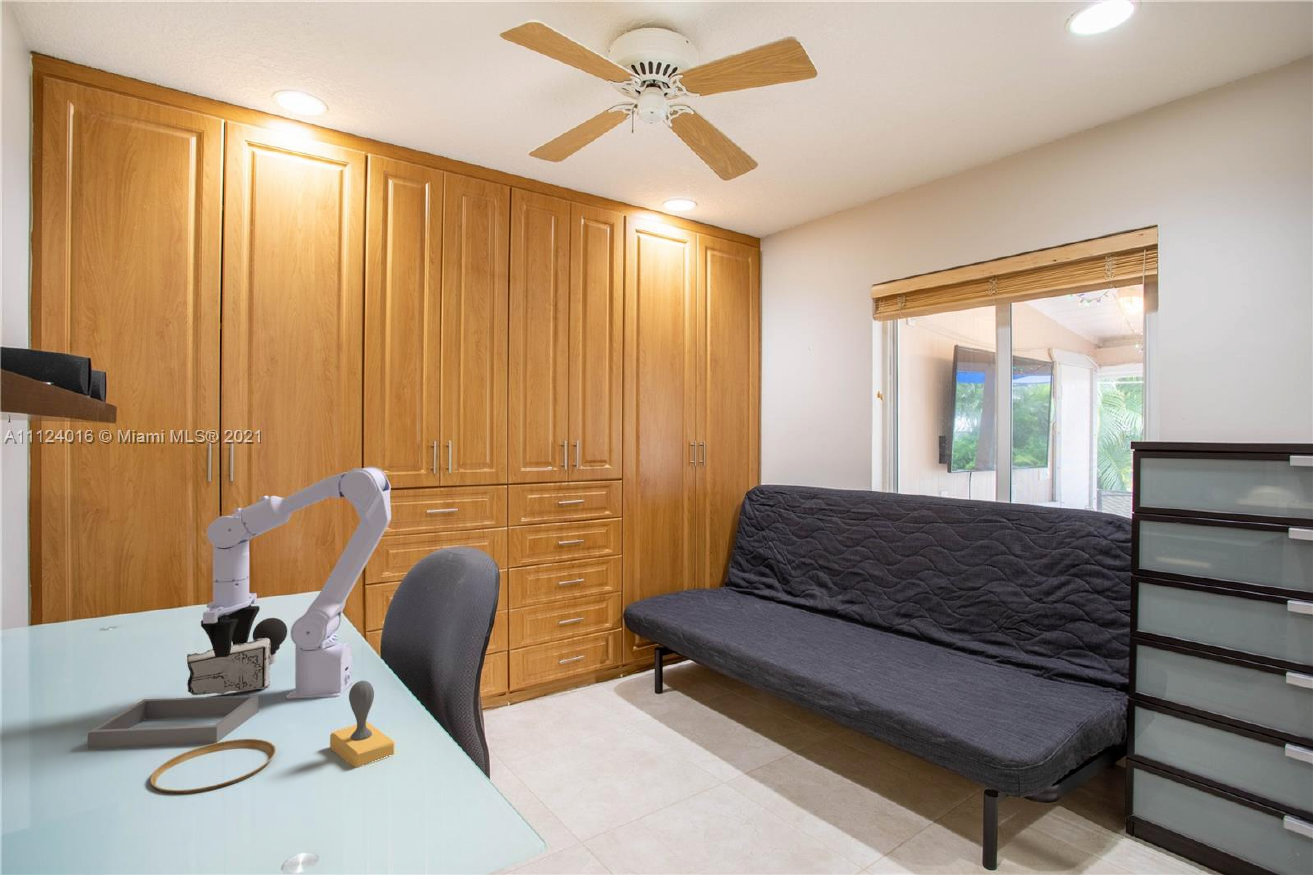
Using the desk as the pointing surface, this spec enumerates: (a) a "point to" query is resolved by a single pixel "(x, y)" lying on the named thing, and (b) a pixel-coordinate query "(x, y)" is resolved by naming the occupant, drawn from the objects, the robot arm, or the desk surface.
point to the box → (122, 735)
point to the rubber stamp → (361, 731)
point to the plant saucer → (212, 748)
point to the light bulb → (271, 634)
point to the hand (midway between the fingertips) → (231, 651)
